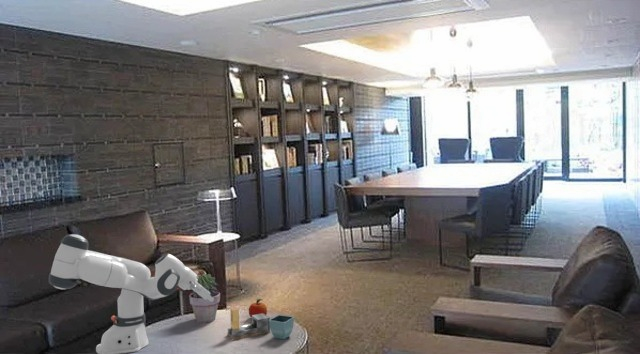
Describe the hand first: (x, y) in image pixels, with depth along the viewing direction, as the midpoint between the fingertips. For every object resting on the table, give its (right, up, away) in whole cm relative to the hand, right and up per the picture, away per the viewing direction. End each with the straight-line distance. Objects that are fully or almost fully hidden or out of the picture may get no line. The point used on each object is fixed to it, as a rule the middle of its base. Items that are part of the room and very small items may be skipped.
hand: (209, 297), depth 254 cm
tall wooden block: (+14, -18, +9) cm, 25 cm away
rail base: (+16, -19, +11) cm, 27 cm away
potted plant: (-8, -19, +33) cm, 39 cm away
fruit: (+18, -18, +33) cm, 42 cm away
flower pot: (+33, -20, +5) cm, 39 cm away
